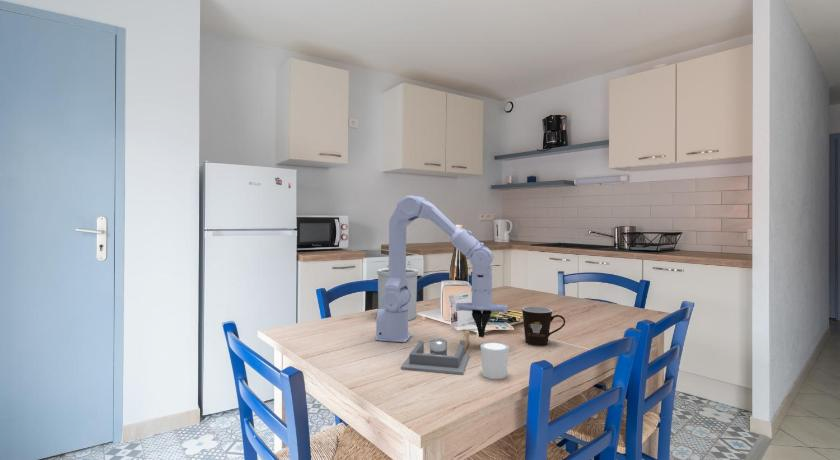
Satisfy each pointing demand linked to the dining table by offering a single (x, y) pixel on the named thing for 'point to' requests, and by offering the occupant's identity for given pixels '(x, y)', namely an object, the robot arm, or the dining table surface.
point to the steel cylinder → (438, 347)
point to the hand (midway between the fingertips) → (481, 336)
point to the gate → (465, 339)
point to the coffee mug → (538, 324)
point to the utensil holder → (412, 285)
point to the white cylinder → (494, 359)
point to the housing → (436, 361)
